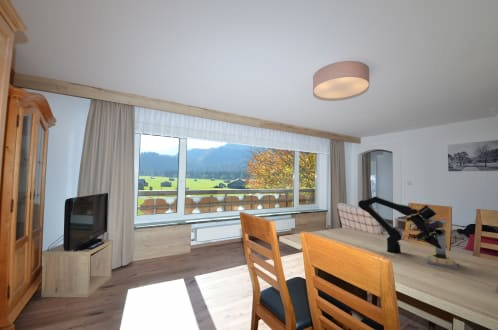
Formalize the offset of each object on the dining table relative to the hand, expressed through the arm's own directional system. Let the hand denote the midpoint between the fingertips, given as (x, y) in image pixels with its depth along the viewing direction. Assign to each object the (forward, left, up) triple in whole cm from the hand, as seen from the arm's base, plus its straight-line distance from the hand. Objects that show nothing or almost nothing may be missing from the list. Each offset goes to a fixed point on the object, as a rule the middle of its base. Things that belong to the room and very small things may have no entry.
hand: (443, 248), depth 119 cm
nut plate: (-1, +1, -9) cm, 9 cm away
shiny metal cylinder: (-1, +1, -7) cm, 7 cm away
